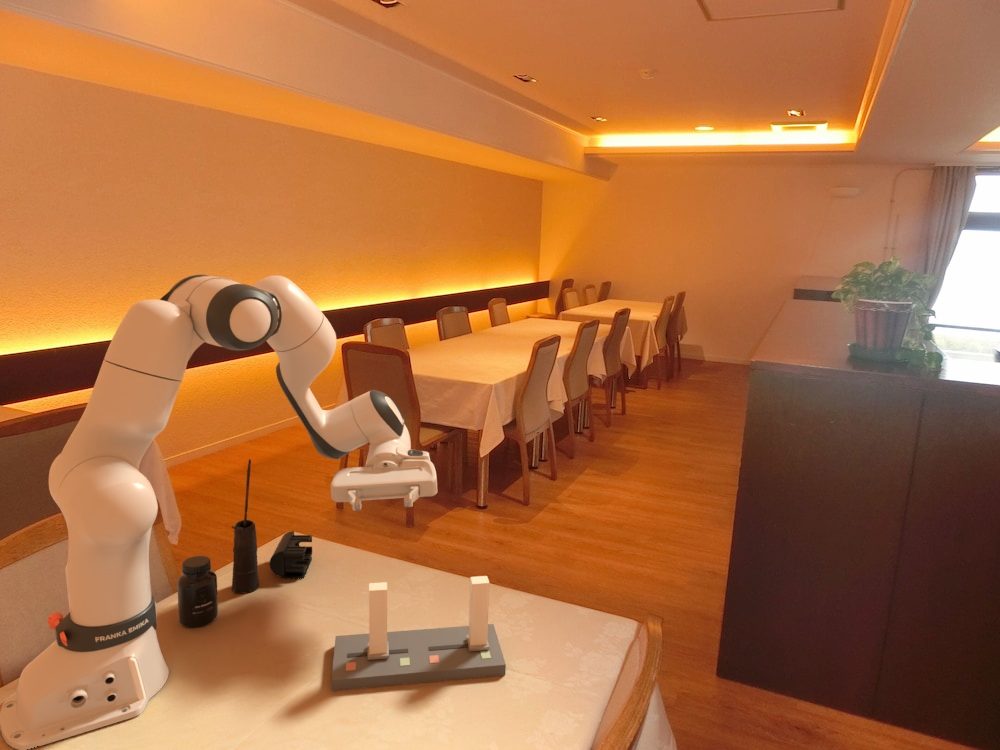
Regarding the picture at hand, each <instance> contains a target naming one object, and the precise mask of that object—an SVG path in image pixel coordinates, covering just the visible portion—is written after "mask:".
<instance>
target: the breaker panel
mask: <svg viewBox="0 0 1000 750" xmlns="http://www.w3.org/2000/svg"><path fill="white" fill-rule="evenodd" d="M466 635H469V625H464V626H462V625H460V626H449V627H448V626H446V627H438V628H436V627H434V628H423V629H421V628H420V629H409V630H397V631H387V641H389V658H385V659H373V660H368V643H369V633H359V634H358V633H357V634H346V635H345V634H344V635H335V640H334V649H333V650H334V651H333V659H332V660H333V661H332V668H331V670H332V671H331V680H330V681H331V684H330V685H331V692H334V691H347V690H356V689H357V690H358V689H367V688H369V689H370V688H378V687H379V688H380V687H390V686H391V687H392V686H399V685H400V686H401V685H410V684H411V685H412V684H420V683H421V684H422V683H424V684H425V683H433V682H443V681H453V680H454V681H455V680H464V679H465V680H466V679H474V678H475V679H477V678H487V677H497V676H498V677H499V676H505V675H506V672H507V671H506V670H507V667H506V666H507V665H506V661H505V657H504V654H503V651H502V647H501V643H500V641H499V638H498V634H497V631H496V628H495V625H494V623H488V635H487V640H488V643H489V647H490V649H489V650H478V651H469V648H468V643H467V639H466Z"/></svg>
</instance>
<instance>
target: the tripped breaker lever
mask: <svg viewBox="0 0 1000 750" xmlns="http://www.w3.org/2000/svg"><path fill="white" fill-rule="evenodd" d="M368 599H369V600H368V606H369V608H368V612H369V615H368V617H369V618H368V622H369V623H368V624H369V625H368V626H369V627H368V634H369V643H368V660H373V659H385V658H389V641H387V632H388V582H385V581H384V582H383V581H382V582H369V584H368Z"/></svg>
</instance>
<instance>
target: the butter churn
mask: <svg viewBox="0 0 1000 750" xmlns="http://www.w3.org/2000/svg"><path fill="white" fill-rule="evenodd" d="M251 463H252V460H251V459H250V458H249V459H248V463H247V469H246V486H245V489H246V490H245V500H244V501H245V502H244V514H243V515H244V517H243V519H242V520H238V522H236V524H235V525H231V528H232V529H233V530H234V531H233V534H234V535H233V536H234V537H233V547H232V552H233V560H232V561H233V564H232V581H231V590H232V592H233V593H234V594H240V593H241V594H248V593H252V592H255V591H256V590H258V589H259V570H258V569H259V565H258V544H257V542H258V541H257V539H258V538H257V531H256V523H255V522H254V520H249V519H247V518H248V514H247V513H248V510H249V509H248V506H249V493H250V480H251V479H250V477H251V465H252V464H251Z"/></svg>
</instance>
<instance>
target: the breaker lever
mask: <svg viewBox="0 0 1000 750" xmlns="http://www.w3.org/2000/svg"><path fill="white" fill-rule="evenodd" d="M469 578H470V579H469V580H470V581H469V582H470V585H469V588H470V589H469V611H468V612H469V613H468V615H469V617H468V626H469V635H466V639H467V643H468V648H469V651H478V650H489V649H490V647H489V643H488V640H487V635H488V624H489V605H490V580H489V578H488V576H487V575H477V576H470V577H469Z"/></svg>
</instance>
